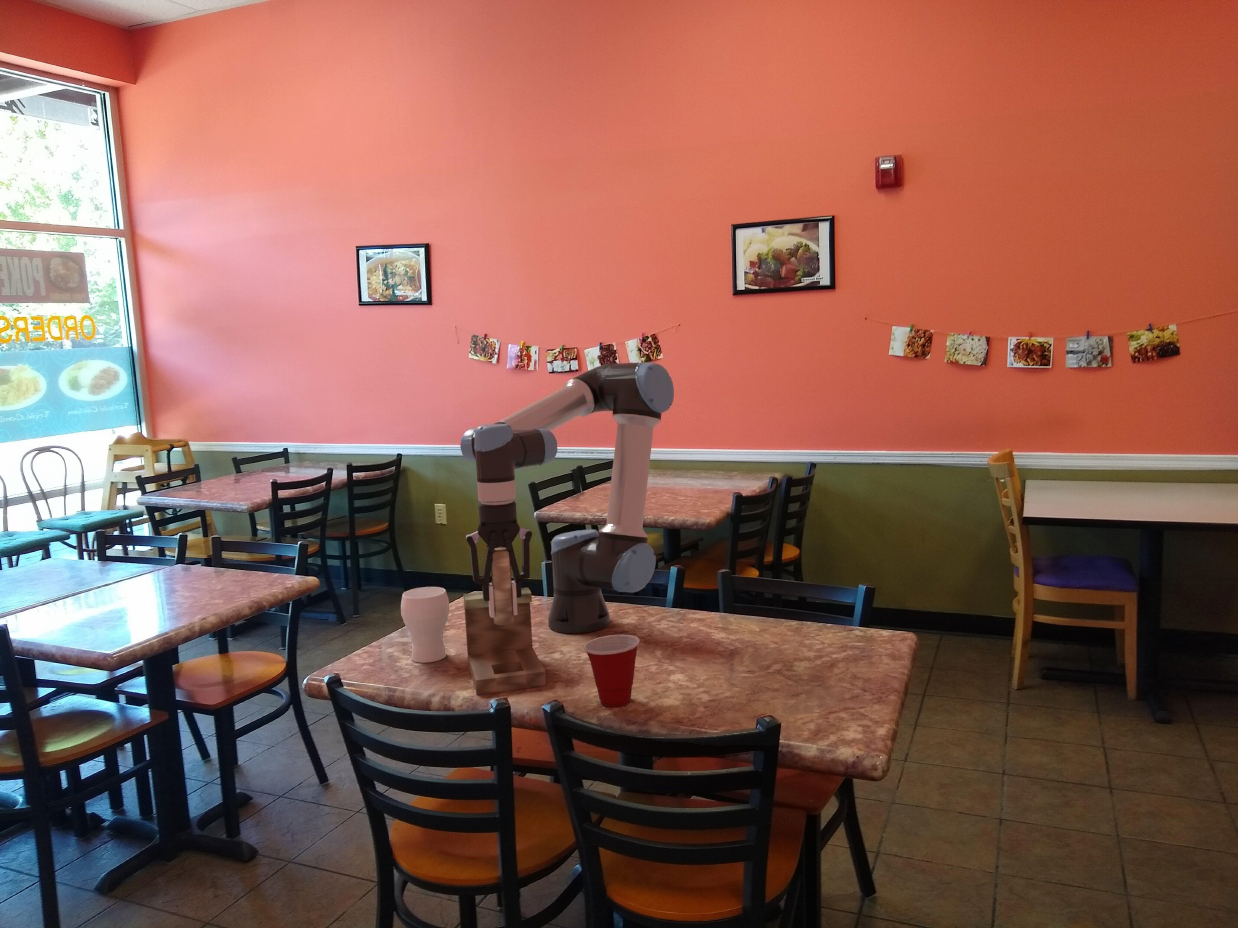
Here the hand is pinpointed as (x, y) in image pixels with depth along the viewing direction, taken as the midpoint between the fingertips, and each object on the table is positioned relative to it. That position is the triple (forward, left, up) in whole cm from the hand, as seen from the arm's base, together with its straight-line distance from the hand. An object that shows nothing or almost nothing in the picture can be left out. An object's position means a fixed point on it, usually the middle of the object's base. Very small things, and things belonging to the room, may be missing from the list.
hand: (503, 614), depth 188 cm
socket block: (0, -4, -14) cm, 15 cm away
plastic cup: (-18, +18, -15) cm, 29 cm away
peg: (0, 0, -2) cm, 2 cm away
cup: (+15, -22, -15) cm, 30 cm away
